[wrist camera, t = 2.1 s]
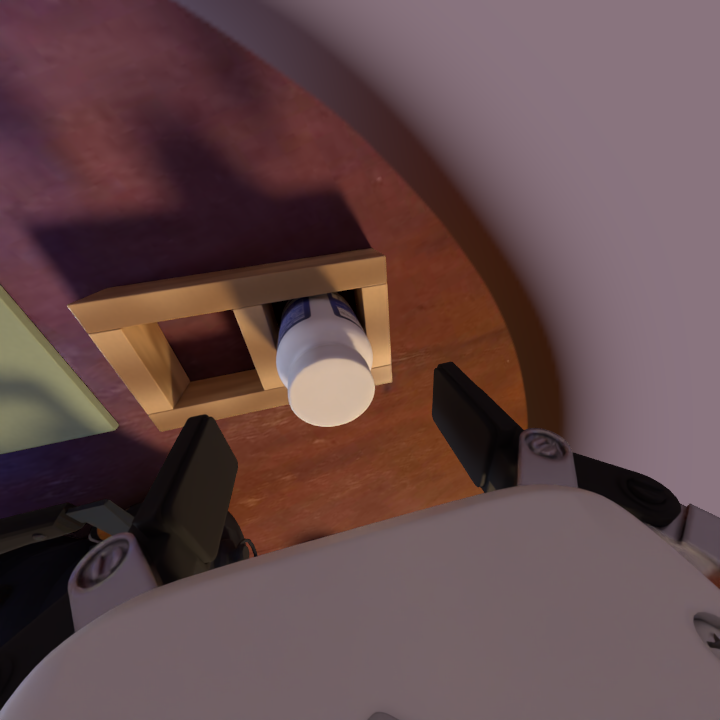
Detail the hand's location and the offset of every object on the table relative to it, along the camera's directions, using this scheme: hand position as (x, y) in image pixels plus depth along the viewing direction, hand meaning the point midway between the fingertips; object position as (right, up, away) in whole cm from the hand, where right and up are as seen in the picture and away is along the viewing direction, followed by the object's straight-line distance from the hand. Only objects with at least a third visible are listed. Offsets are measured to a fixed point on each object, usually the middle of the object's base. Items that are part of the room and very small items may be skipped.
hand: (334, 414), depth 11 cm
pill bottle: (-2, +5, +8) cm, 10 cm away
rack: (-6, +4, +8) cm, 10 cm away
